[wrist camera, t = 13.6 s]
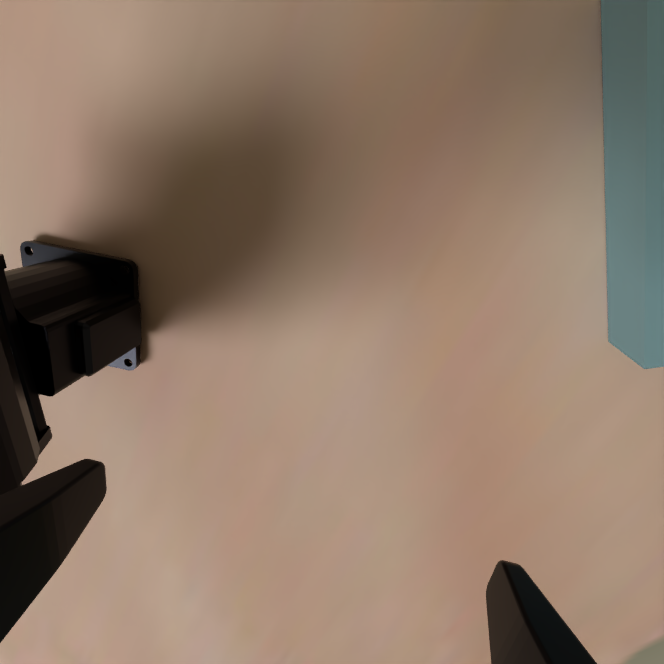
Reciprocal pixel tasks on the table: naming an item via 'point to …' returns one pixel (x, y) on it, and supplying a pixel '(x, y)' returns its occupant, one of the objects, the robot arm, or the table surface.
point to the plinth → (634, 175)
